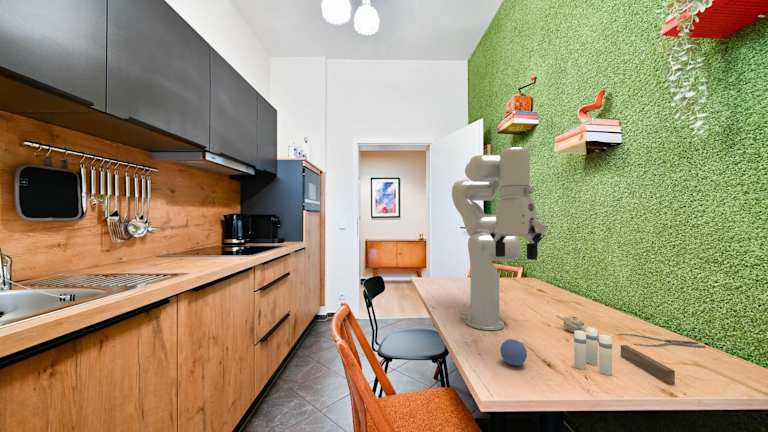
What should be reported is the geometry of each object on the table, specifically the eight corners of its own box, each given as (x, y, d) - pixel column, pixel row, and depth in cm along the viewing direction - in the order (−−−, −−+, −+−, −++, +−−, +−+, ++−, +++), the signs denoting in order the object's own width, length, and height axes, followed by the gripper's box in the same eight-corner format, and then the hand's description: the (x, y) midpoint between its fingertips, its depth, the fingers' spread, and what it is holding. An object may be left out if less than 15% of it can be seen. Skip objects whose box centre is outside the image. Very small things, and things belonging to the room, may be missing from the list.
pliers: (612, 332, 97) (676, 334, 96) (612, 335, 96) (676, 336, 96) (637, 345, 87) (708, 346, 86) (637, 348, 87) (708, 349, 86)
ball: (497, 365, 74) (497, 340, 74) (504, 357, 79) (504, 333, 79) (523, 373, 70) (523, 347, 70) (529, 363, 75) (529, 339, 75)
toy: (595, 331, 87) (552, 307, 101) (588, 347, 87) (546, 321, 101) (617, 336, 91) (572, 312, 105) (610, 352, 91) (567, 325, 105)
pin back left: (585, 363, 76) (585, 329, 76) (586, 359, 78) (586, 326, 78) (597, 366, 74) (597, 331, 74) (598, 362, 76) (598, 328, 76)
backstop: (667, 384, 66) (667, 370, 66) (620, 356, 80) (620, 344, 80) (674, 384, 66) (674, 370, 66) (626, 356, 80) (626, 345, 80)
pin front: (573, 367, 73) (573, 332, 74) (574, 363, 75) (574, 329, 76) (585, 370, 72) (585, 334, 72) (586, 366, 74) (586, 331, 74)
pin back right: (598, 373, 71) (598, 336, 71) (599, 369, 73) (599, 333, 73) (612, 376, 69) (611, 339, 69) (612, 372, 71) (612, 336, 71)
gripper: (554, 191, 75) (555, 260, 75) (498, 198, 91) (498, 255, 90) (535, 189, 72) (536, 261, 71) (480, 196, 87) (480, 256, 86)
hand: (515, 257), depth 80 cm, fingers open, 9 cm apart
